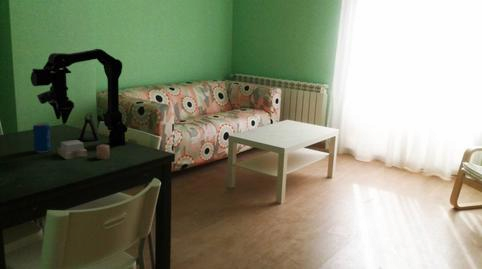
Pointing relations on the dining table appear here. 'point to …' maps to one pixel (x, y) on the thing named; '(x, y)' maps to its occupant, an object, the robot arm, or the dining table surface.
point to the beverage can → (41, 137)
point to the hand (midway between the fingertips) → (61, 121)
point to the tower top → (72, 145)
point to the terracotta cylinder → (103, 151)
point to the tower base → (72, 153)
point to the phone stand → (93, 128)
